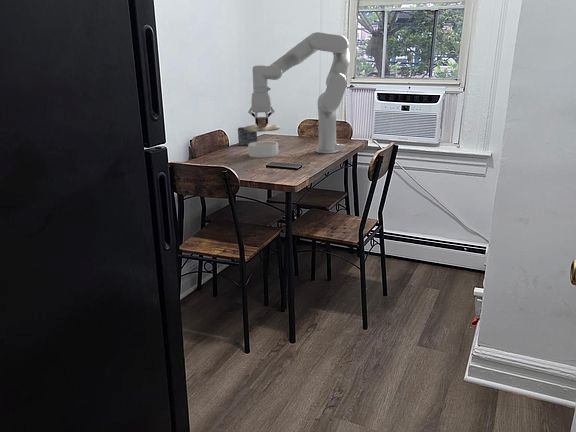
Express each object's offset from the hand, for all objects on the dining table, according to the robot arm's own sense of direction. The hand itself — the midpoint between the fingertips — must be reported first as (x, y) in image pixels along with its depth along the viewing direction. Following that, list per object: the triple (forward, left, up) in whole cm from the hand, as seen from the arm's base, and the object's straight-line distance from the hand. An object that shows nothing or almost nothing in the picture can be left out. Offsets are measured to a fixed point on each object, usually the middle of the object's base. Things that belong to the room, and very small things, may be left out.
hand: (261, 125), depth 272 cm
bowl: (0, 0, -16) cm, 16 cm away
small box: (+9, -32, -16) cm, 37 cm away
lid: (0, 0, -2) cm, 2 cm away
